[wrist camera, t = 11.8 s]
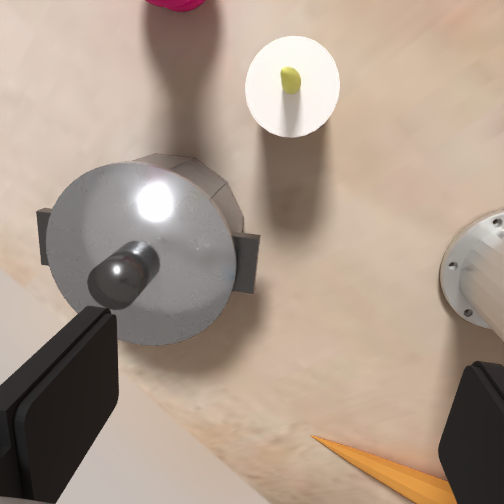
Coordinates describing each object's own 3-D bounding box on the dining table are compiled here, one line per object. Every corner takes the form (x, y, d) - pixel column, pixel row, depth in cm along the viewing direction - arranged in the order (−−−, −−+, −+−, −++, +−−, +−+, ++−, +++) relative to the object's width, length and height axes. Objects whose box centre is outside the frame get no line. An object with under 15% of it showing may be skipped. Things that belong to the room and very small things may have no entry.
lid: (243, 166, 31) (228, 182, 24) (235, 339, 37) (220, 393, 30) (52, 152, 33) (-15, 163, 26) (72, 321, 38) (21, 369, 31)
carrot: (460, 481, 50) (479, 502, 45) (446, 514, 50) (463, 538, 45) (315, 411, 51) (319, 425, 47) (300, 443, 51) (303, 460, 47)
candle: (283, 145, 38) (275, 166, 24) (246, 84, 36) (213, 68, 22) (342, 107, 36) (370, 104, 22) (305, 40, 35) (310, -7, 21)
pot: (272, 166, 39) (264, 182, 30) (256, 301, 44) (246, 347, 35) (81, 145, 40) (23, 154, 32) (88, 278, 45) (40, 316, 37)
